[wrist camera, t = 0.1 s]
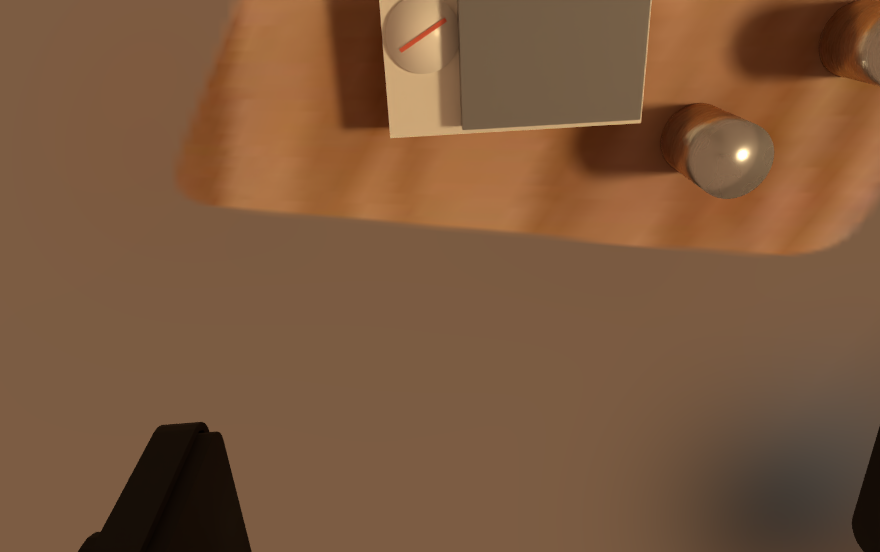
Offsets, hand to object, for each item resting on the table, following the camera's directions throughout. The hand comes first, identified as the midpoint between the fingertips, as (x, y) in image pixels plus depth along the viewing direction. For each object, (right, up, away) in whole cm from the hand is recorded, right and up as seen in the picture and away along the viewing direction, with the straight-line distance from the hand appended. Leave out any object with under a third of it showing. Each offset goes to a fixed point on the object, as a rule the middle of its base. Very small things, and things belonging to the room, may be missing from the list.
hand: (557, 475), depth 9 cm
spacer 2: (+26, +18, +33) cm, 46 cm away
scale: (+3, +19, +32) cm, 37 cm away
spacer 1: (+16, +12, +36) cm, 41 cm away
